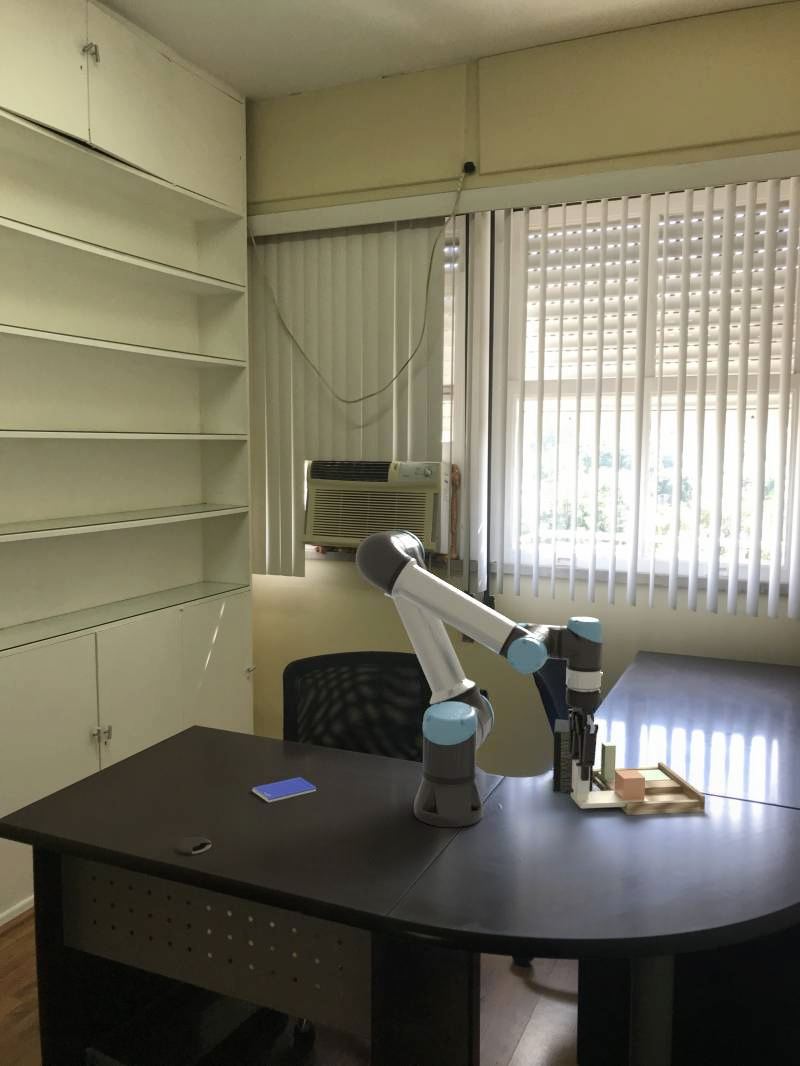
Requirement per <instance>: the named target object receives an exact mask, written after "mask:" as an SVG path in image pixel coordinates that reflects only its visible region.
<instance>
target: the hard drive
mask: <svg viewBox="0 0 800 1066" xmlns="http://www.w3.org/2000/svg"><path fill="white" fill-rule="evenodd" d="M252 792H253V793H254V794H255V795H257V796H259V797H260V798H261V799H263V800H264V801H266V802H267V803H273V802H277V801H281V800H285V799H290V798H293V797H297V796H300V795H305V794H309V793H314V792H317V787H316V786H315V785H314V784H312V783H310V782H309V781H307V780H305V779H304V778H303V777H301V776H298V777H295V778H291V779H285V780H280V781H277V782H272V783H267V784H262V785H259V786H255V787H252Z"/></svg>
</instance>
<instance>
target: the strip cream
mask: <svg viewBox="0 0 800 1066" xmlns="http://www.w3.org/2000/svg"><path fill="white" fill-rule="evenodd" d="M576 763H579V761H574V788H573V792H571V793H570V797H571V799H572V800H573V801H574V802H575V803H576V805H577V806H578V807H579V808H580V809H595V808H597V809H599V808H600V809H601V808H620V807H624V806H626V803H630V802H649V801H648V800H647V799H646V798H644V800H622V799H621V798H620V797H619V796H618V795H617V794H616V793H615V792H614V791H603V790H598V791H597V790H596V791H595V790H594V791H593V790H592V791H591V792H589V794H577V793H576V790H577V766H576Z"/></svg>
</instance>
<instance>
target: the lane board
mask: <svg viewBox="0 0 800 1066" xmlns="http://www.w3.org/2000/svg"><path fill="white" fill-rule="evenodd" d="M619 770H660V771H661V772H663V773H664V774H665V775H666V776H668V777H669V778H670V779H671V780H662V781H645V798H646V799H647V800H648V801H649V802H630V803H626V806H624V807H619V808H620V809H621V810H622V811H623V813H625V814H626V815H627V816H635V815H636V816H639V815H655V814H656V815H659V814H680V813H682V814H683V813H698V812H699V813H700V812H702V813H703V812H705V811H706V809H705V808H706V807H705V805H706V796H705V795H704V794H703V793H701V791H699V790H698V789H697V788H695V787H694V786H693V785H691V784H690V783H689V782H688V781H686V779H684V778H683V777H681V776H680V775H679V774H677V773H676V772H675V771H674V770H672V769H671V768H670V767H668V766H667V765H666V764H665V763H663V762H662V761H661V762H658V763H657V766H648V767H646V766H644V767H643V766H642V767H621V768H618V767H617V768H616V767H615V771H619ZM598 772H601V768H596V769H595V768H593V780H592V782H594V783H595V784H596V785H597V786H598V787H599V788H600V789H601V791H614V790H615V782H613V783H605V782H604V781H603V780H602V779H601V778H600V777H599V776H598Z"/></svg>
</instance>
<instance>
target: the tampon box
mask: <svg viewBox="0 0 800 1066" xmlns="http://www.w3.org/2000/svg"><path fill="white" fill-rule="evenodd" d="M554 722H555V723H554V731H553V753H552V754H553V756H552V757H553V758H552V759H553V761H552V763H553V764H552V765H553V766H552V791H553V792H559V793H569V794H571V792H573V789H572V760H573V759H572V757H571V755H572V753H569V719H559V718H556V719H555V721H554ZM593 767H594V766H590V787H589V792H591V791H593V769H594V768H593Z"/></svg>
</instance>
